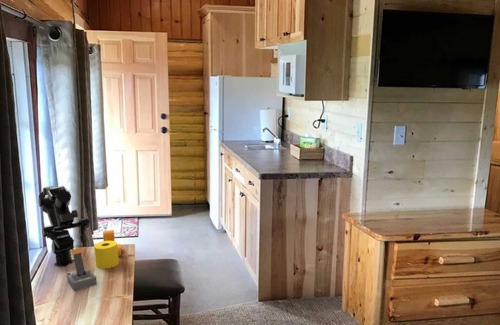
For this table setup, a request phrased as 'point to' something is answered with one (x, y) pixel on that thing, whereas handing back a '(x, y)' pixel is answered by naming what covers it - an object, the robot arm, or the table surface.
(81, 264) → the breaker lever
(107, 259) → the tape roll
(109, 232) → the bracket
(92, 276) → the box
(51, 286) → the table surface
